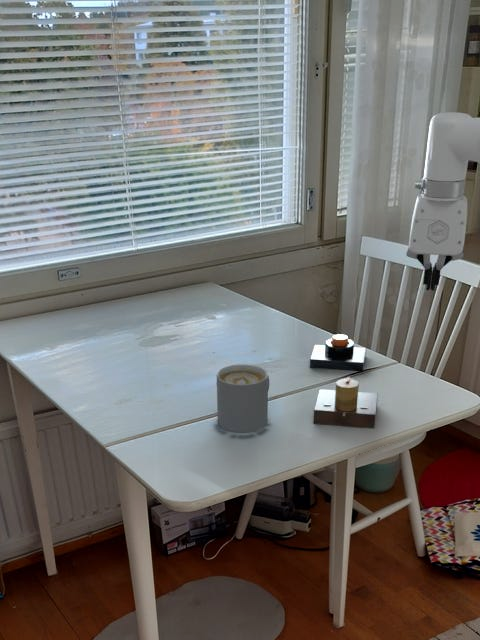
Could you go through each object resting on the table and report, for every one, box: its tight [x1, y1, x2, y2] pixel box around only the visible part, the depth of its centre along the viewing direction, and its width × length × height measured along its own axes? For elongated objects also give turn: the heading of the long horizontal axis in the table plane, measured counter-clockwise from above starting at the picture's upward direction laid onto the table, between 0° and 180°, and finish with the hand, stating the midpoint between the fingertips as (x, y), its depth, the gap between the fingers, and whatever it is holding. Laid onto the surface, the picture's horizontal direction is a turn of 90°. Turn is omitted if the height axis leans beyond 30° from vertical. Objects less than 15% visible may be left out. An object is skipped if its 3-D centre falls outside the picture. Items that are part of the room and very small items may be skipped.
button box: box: [309, 337, 367, 373], centre depth 180 cm, size 12×10×4 cm
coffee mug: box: [216, 363, 270, 434], centre depth 154 cm, size 13×10×10 cm
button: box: [331, 333, 349, 346], centre depth 180 cm, size 4×4×2 cm
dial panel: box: [312, 388, 379, 429], centre depth 157 cm, size 12×12×3 cm
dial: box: [335, 376, 360, 411], centre depth 153 cm, size 4×4×5 cm
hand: (430, 288), depth 155 cm, fingers closed
